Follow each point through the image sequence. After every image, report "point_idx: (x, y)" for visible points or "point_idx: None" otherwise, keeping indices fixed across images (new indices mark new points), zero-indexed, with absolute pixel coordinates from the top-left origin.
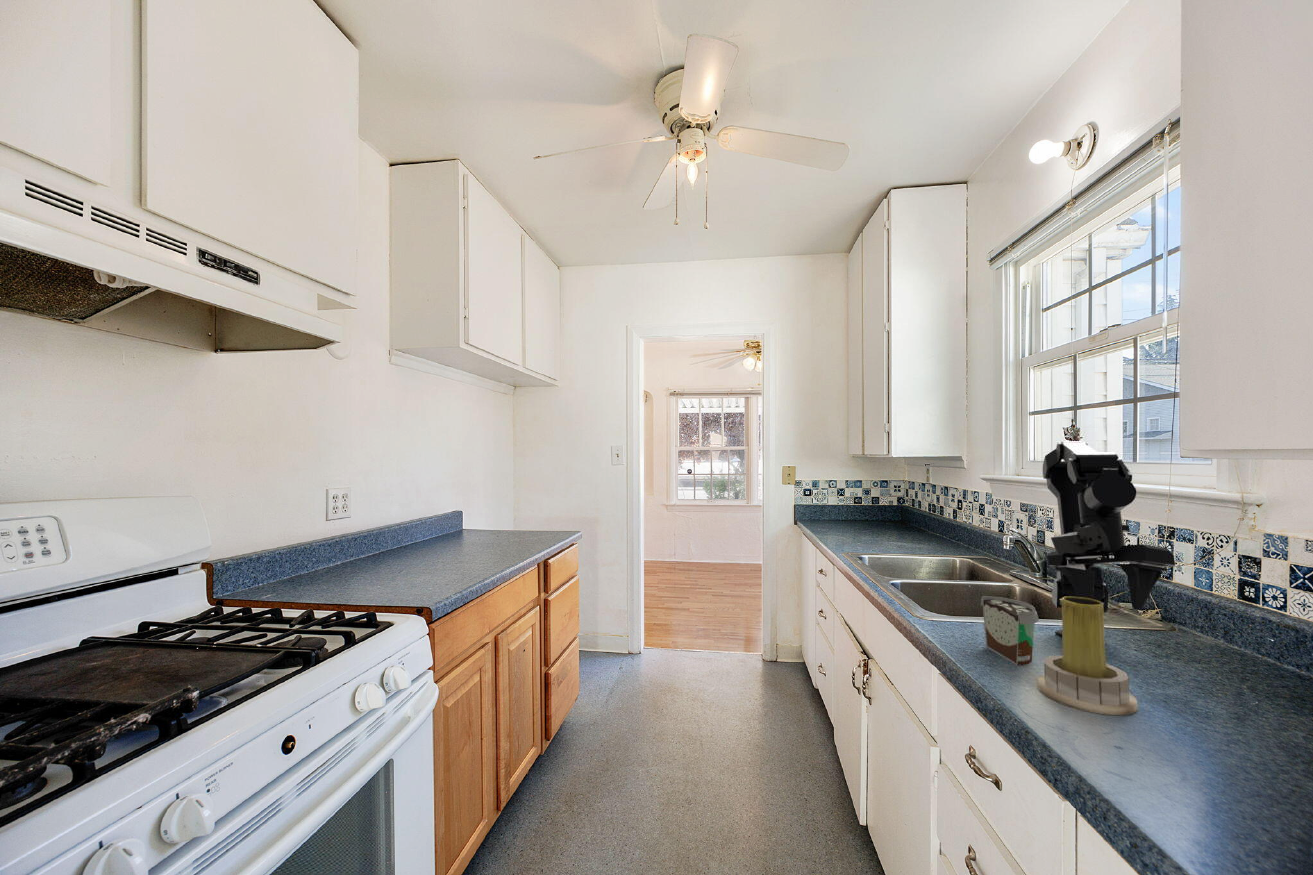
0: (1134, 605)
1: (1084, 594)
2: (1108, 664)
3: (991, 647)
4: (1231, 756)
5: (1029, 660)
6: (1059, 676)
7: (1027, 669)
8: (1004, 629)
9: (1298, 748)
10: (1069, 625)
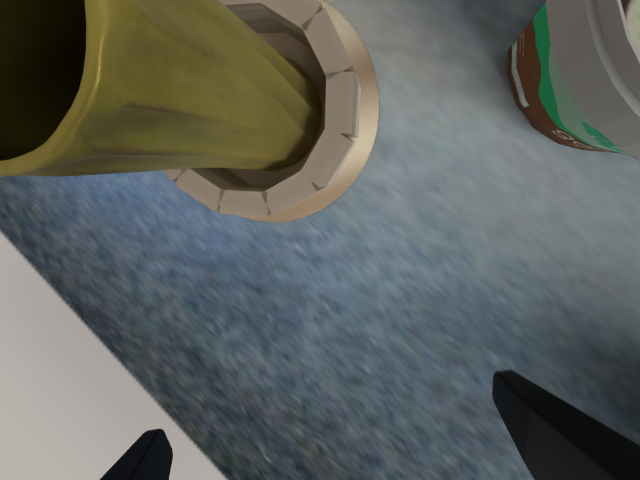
0: (138, 447)
1: (559, 457)
2: (274, 212)
3: None
4: (55, 204)
5: (522, 106)
6: None
7: (467, 66)
8: None
9: (103, 340)
10: None
